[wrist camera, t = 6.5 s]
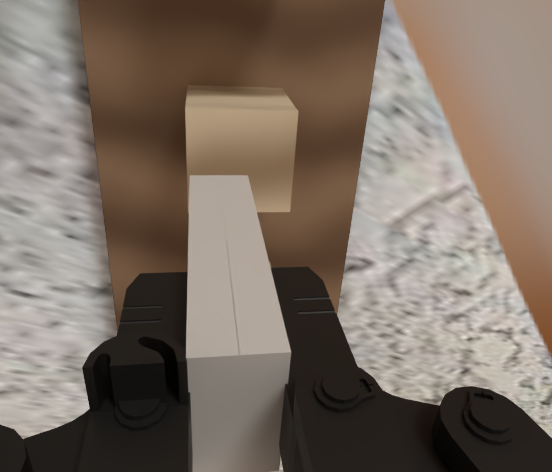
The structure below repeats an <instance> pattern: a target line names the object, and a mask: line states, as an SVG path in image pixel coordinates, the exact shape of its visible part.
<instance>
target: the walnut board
mask: <svg viewBox="0 0 552 472" xmlns="http://www.w3.org/2000/svg"><path fill="white" fill-rule="evenodd" d="M384 3H385V0H78V5H79V13H80V21H81V30H82V38H83V47H84V55H85V63H86V72H87V80H88V88H89V97H90V105H91V113H92V122H93V130H94V138H95V147H96V155H97V163H98V172H99V180H100V189H101V197H102V205H103V214H104V222H105V230H106V239H107V247H108V255H109V264H110V272H111V280H112V289H113V297H114V306H115V314H116V322H117V331H118V328H119V325H120V318H121V313H122V310H123V303H124V298H125V293H126V289H127V287H128V286H129V285H130V284H131V283H132V282H133V281H134V280H135V278H136V277H137V276H138V275H139V274H140V273H166V272H188V231H189V213H188V195H187V158H186V121H185V105H186V96H187V87H188V85H210V86H238V87H266V88H282V89H283V90H284V92H285V93H286V94H287V96H288V97H289V99H290V100H291V102H292V103H293V104H294V106H295V107H296V109H297V110H298V123H297V135H296V147H295V159H294V171H293V183H292V195H291V207H290V212H257V215H258V219H259V223H260V227H261V231H262V235H263V239H264V243H265V247H266V251H267V256H268V260H269V262H271V266H272V268H278V267H309V268H310V269H311V270H312V271H314V272H315V273H316V274H317V275H318V276H319V277H320V278H321V279H322V280H323V281H324V284H325V286H326V289H327V291H328V294H329V299H331V302H332V304H333V307H334V309H335V313H336V314H337V311H338V305H339V298H340V292H341V285H342V279H343V272H344V266H345V259H346V252H347V246H348V239H349V233H350V226H351V220H352V213H353V207H354V200H355V193H356V187H357V180H358V174H359V167H360V161H361V154H362V148H363V141H364V134H365V128H366V121H367V115H368V108H369V102H370V95H371V89H372V82H373V75H374V69H375V62H376V56H377V49H378V43H379V36H380V30H381V23H382V16H383V10H384Z"/></svg>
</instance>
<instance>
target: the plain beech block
mask: <svg viewBox="0 0 552 472" xmlns="http://www.w3.org/2000/svg"><path fill="white" fill-rule="evenodd" d="M185 121H186V158H187V195H188V213H189V183H190V175H248V178H249V182H250V186H251V190H252V194H253V198H254V202H255V206H256V211H257V212H290V207H291V195H292V183H293V171H294V159H295V147H296V135H297V123H298V110H297V109H296V107H295V106H294V104H293V103H292V102H291V100H290V99H289V97H288V96H287V94H286V93H285V92H284V90H283V89H282V88H266V87H238V86H210V85H188V87H187V96H186V105H185Z"/></svg>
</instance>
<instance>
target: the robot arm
mask: <svg viewBox="0 0 552 472" xmlns="http://www.w3.org/2000/svg"><path fill="white" fill-rule="evenodd" d="M82 369H83V374H84V379H85V385H86V390H87V395H88V401H89V406H90V409H89V410H88V411H87V412H86V413H84V414H83V415H81V416H80V417H78V418H76V419H75V420H73V421H71V422H69V423H67V424H65V425H62V426H60V427H58V428H55V429H52V430H49V431H46V432H43V433H40V434H37V435H34V436H31V437H28V438H25V439H22V438H21V437H20V435H19V434H18V433H17V432H16V431H15V430H14V429H11V428H8V427H5V426H2V425H0V472H269V471H279V466H280V456H281V459H282V465H283V471H284V472H552V438H551V437H550V436H549V435H548V434H547V433H546V432H545V431H544V430H543V429H542V428H541V427H540V426H539V425H538V424H537V423H535V422H534V421H533V420H532V419H531V418H530V417H529V416H528V415H527V414H526V413H525V412H524V411H523V410H522V409H521V408H520V407H518V406H517V405H516V404H514V403H513V402H512V401H510V400H509V399H508V398H506V397H504V396H502V395H500V394H498V393H495V392H493V391H491V390H489V389H483V388H478V387H473V386H469V387H460V388H455V389H454V390H452V391H450V392H449V393H447V394H445V396H444V398H443V400H442V402H441V404H440V406H438V405H433V404H428V403H423V402H418V401H413V400H408V399H404V398H400V397H397V396H393V395H391V394H389V393H387V392H385V391H383V390H382V389H381V388H380V386H379V385H378V383H377V382H376V380H375V379H374V378H373V377H372V376H371V375H369V374H368V373H367V372H365V371H364V370H363V369H361V368H359V367H358V366H357V364H356V362H355V359H354V357H353V354H352V352H351V349H350V347H349V344H348V342H347V339H346V337H345V334H344V332H343V329H342V327H341V324H340V322H339V319H338V317H337V314H336V313H335V309H334V307H333V304H332V302H331V299H329V294H328V291H327V289H326V286H325V284H324V281H323V280H322V279H321V278H320V277H319V276H318V275H317V274H316V273H315V272H314V271H312V270H311V269H310V268H309V267H278V268H270V264H269V260H268V256H267V251H266V247H265V243H264V239H263V235H262V231H261V227H260V223H259V219H258V215H257V211H256V206H255V202H254V198H253V194H252V190H251V186H250V182H249V178H248V175H190V183H189V231H188V272H166V273H140V274H139V275H138V276H137V277H136V278H135V280H134V281H133V282H132V283H131V284H130V285H129V286H128V287H127V289H126V293H125V298H124V303H123V310H122V313H121V318H120V325H119V328H118V333H117V336H116V337H114V338H111V339H109V340H107V341H105V342H103V343H102V344H101V345H100V346H98V347H97V348H96V349H95V350H94V351H92V352H91V353H90V355H89V356H88V358H87V360H86V362H85V364H84V366H83V367H82Z"/></svg>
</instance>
